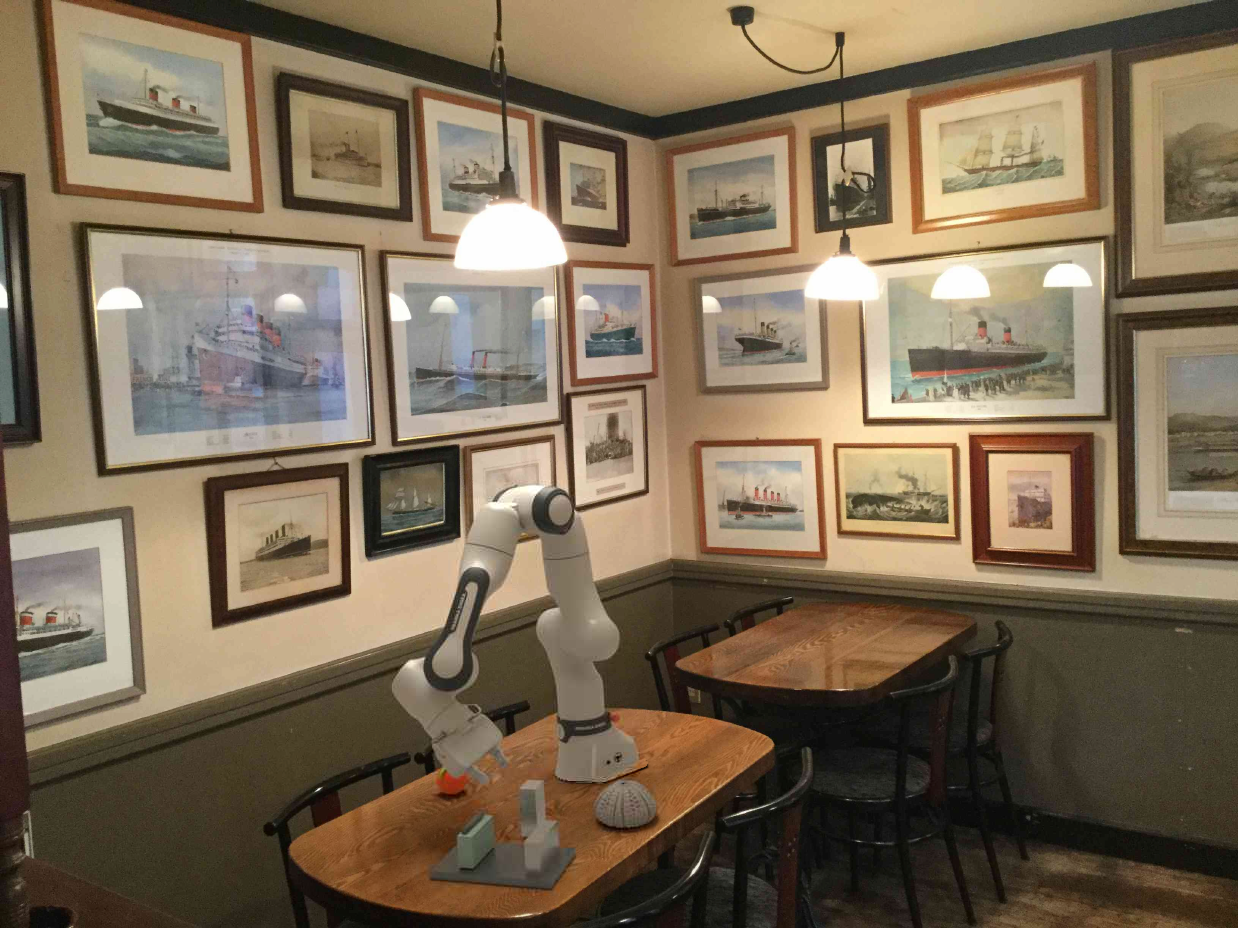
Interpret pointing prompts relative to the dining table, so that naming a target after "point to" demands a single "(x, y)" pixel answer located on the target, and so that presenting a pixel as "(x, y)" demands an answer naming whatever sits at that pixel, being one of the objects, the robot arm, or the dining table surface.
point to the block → (531, 805)
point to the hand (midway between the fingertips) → (497, 773)
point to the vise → (514, 862)
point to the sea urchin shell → (625, 805)
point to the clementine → (450, 782)
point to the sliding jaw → (475, 840)
